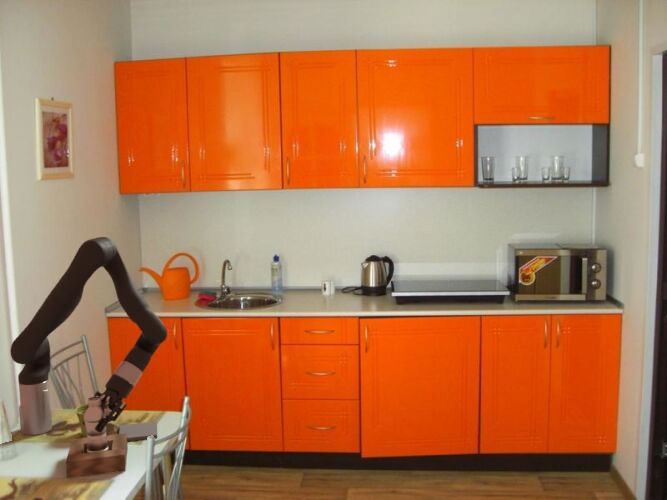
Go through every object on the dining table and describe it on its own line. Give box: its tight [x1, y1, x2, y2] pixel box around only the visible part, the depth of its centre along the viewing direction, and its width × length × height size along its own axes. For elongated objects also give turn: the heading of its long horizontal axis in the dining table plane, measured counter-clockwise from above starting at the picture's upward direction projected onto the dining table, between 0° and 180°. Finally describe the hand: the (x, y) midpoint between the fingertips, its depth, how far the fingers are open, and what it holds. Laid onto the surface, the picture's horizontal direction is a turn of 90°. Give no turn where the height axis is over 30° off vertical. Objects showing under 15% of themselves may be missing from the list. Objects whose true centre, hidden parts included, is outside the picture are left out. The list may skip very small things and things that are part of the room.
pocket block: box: [65, 433, 129, 479], centre depth 201 cm, size 16×16×5 cm
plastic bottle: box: [84, 396, 109, 453], centre depth 200 cm, size 6×7×20 cm
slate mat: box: [118, 420, 158, 442], centre depth 224 cm, size 12×12×1 cm
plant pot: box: [74, 403, 88, 437], centre depth 223 cm, size 9×9×9 cm
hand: (91, 428), depth 199 cm, fingers closed on plastic bottle, 6 cm apart
